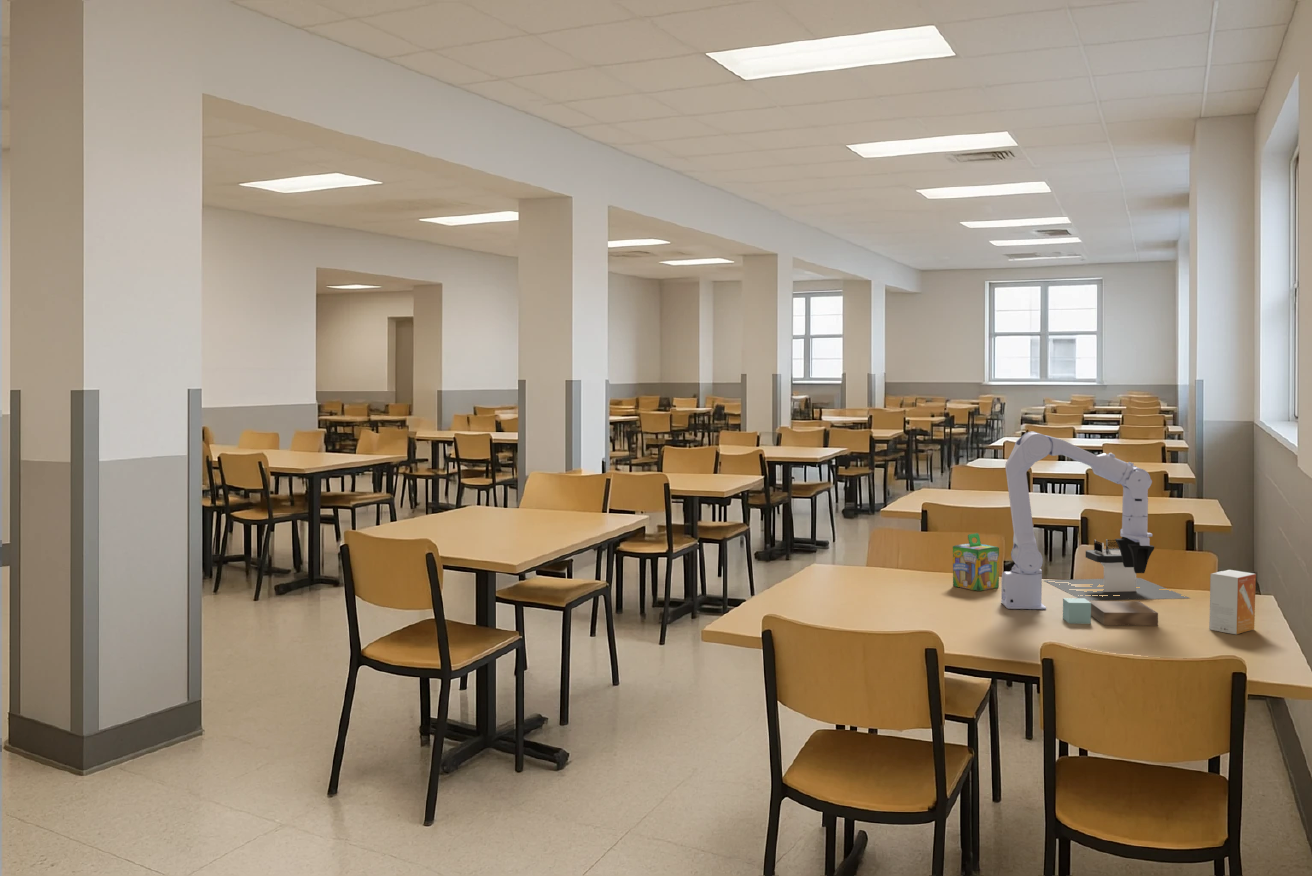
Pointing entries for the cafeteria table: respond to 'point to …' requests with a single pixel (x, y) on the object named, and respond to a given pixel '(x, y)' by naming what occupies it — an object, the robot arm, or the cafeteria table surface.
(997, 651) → the cafeteria table surface
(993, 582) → the chalk box
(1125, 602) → the walnut base
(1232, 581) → the small box
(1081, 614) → the teal cube
